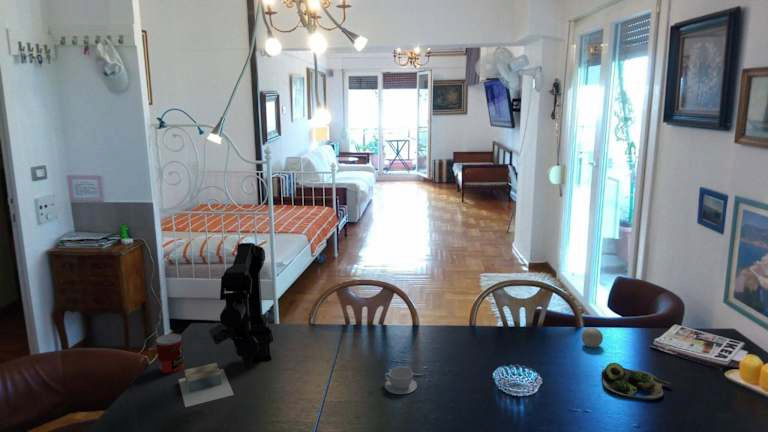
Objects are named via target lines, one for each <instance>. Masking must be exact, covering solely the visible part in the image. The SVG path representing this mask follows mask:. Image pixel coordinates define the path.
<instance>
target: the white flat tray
mask: <svg viewBox="0 0 768 432" xmlns="http://www.w3.org/2000/svg"><path fill="white" fill-rule="evenodd" d="M219 370H220V372H221V377H222V384H219V385H215V386H211V387H207V388H203V389H199V390H194V391H190V392H189V391H188V387H187V384H186V380H185V377H182V378H178V383H179V389H180V392H181V395H182V400H183V404H184V407H185V408H189V407H192V406H195V405H200V404H203V403H207V402H212V401H216V400H219V399H224V398H227V397H230V396H234V395H235V394H234V391H233V389H232V386H231V384H230V383H229V380H228V377H227V375H226V372H225V370H224V369H223V368H221V369H220V368H219Z"/></svg>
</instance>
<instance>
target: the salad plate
mask: <svg viewBox="0 0 768 432" xmlns="http://www.w3.org/2000/svg"><path fill="white" fill-rule="evenodd" d="M600 376H601V377H600V378H601V383H602V387H603V389H605V391H606V392H607V393H608V394H611V395H612V396H615V397H620V398H624V399H634V400H656V399H660V398H661V397H663V396H664V391H663V388H662V387H666V386H671V385H672V384H671V382H669V381H665V380H664V379H663V380H662V379H660V378H657V377H656V376H655V375H653V374H652V373H649V372H647V371H644V370H638V369H628V368H625V367H623V365H621V364H620V363H617V362H610V363H609V364H607V365H606V367H605V368H604V369H603V370H602V371H601V374H600ZM639 391H643V392H645V391H647V392H649V393H650V394H649V395H645V396H638V395H635V394H636V393H637V392H639Z"/></svg>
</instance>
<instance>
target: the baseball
mask: <svg viewBox="0 0 768 432" xmlns="http://www.w3.org/2000/svg"><path fill="white" fill-rule="evenodd" d="M603 340H604V335H603V333H602V332H601V330H599V329H598V328H596V327H587V328H586V329H584V330H583V331H582V333H581V341H582V343H583V344H584V345H585V346H586V347H588V348H592V349H593V348H597V347H599V346H601V344H602V343H603Z"/></svg>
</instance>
